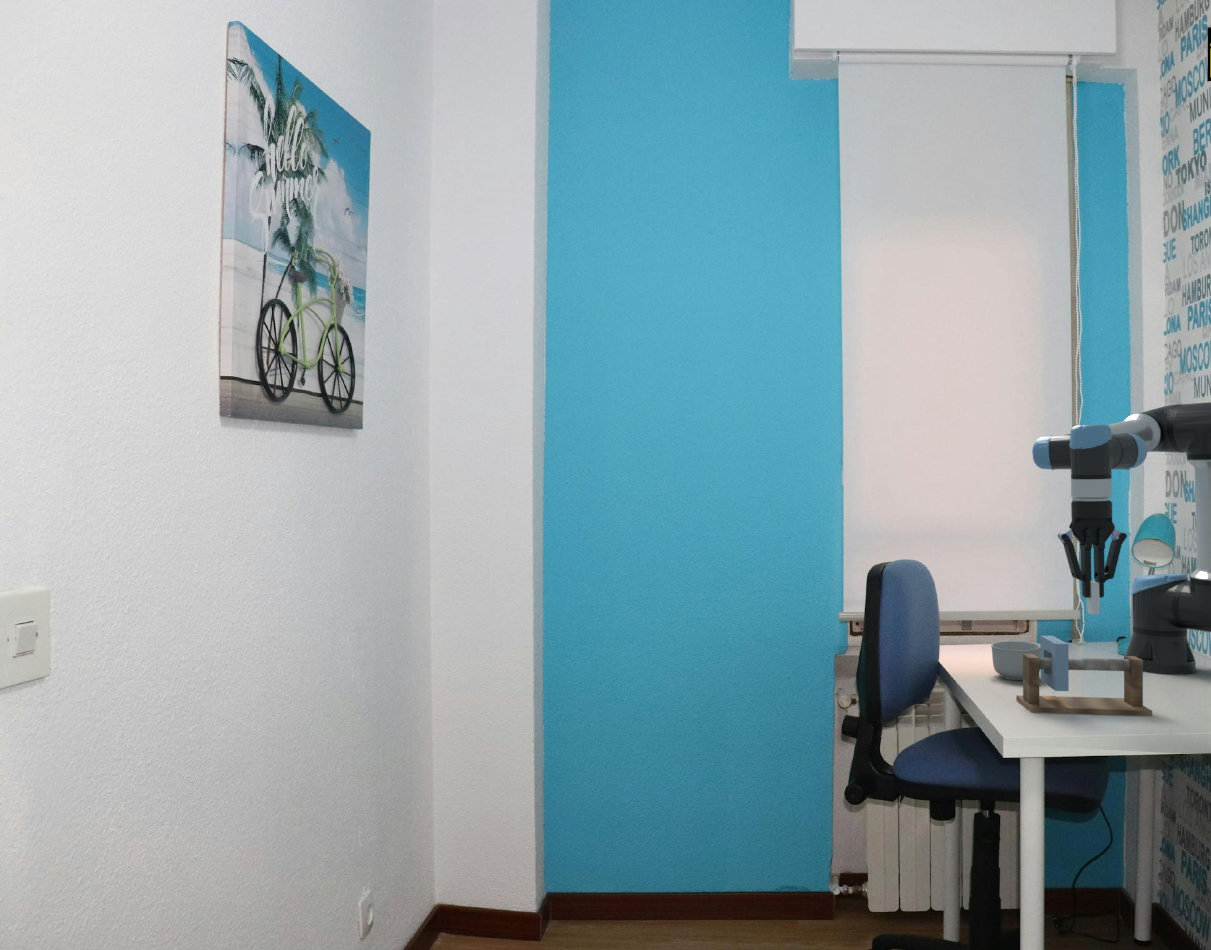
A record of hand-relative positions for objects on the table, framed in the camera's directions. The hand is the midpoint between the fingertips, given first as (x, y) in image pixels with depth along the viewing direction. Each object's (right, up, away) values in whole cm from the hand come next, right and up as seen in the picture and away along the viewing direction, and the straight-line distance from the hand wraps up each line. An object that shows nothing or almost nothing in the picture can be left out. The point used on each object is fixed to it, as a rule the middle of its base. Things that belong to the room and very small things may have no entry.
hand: (1093, 613), depth 192 cm
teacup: (-4, -20, +29) cm, 35 cm away
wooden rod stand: (-2, -20, 0) cm, 20 cm away
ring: (-8, -15, +1) cm, 17 cm away
